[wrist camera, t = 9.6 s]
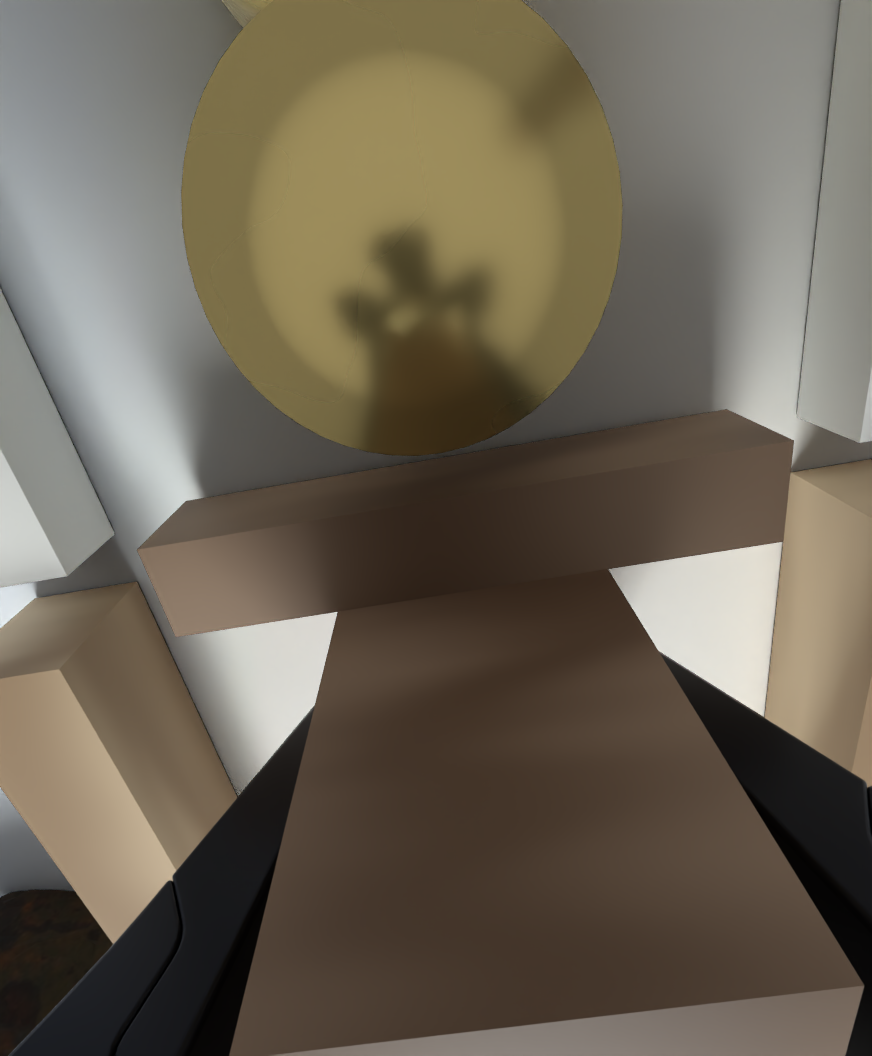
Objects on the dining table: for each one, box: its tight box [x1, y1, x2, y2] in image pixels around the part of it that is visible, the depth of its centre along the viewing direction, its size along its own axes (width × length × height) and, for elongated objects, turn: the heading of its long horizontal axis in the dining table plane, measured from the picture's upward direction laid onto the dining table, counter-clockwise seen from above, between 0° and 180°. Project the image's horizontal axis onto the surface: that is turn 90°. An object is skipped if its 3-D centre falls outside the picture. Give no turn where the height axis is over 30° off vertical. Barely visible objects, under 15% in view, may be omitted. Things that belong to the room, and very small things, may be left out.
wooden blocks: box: [0, 459, 872, 944], centre depth 12 cm, size 16×13×2 cm
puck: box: [181, 0, 623, 456], centre depth 7 cm, size 4×4×4 cm
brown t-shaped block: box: [137, 409, 864, 1056], centre depth 7 cm, size 9×6×7 cm, turn 100°
